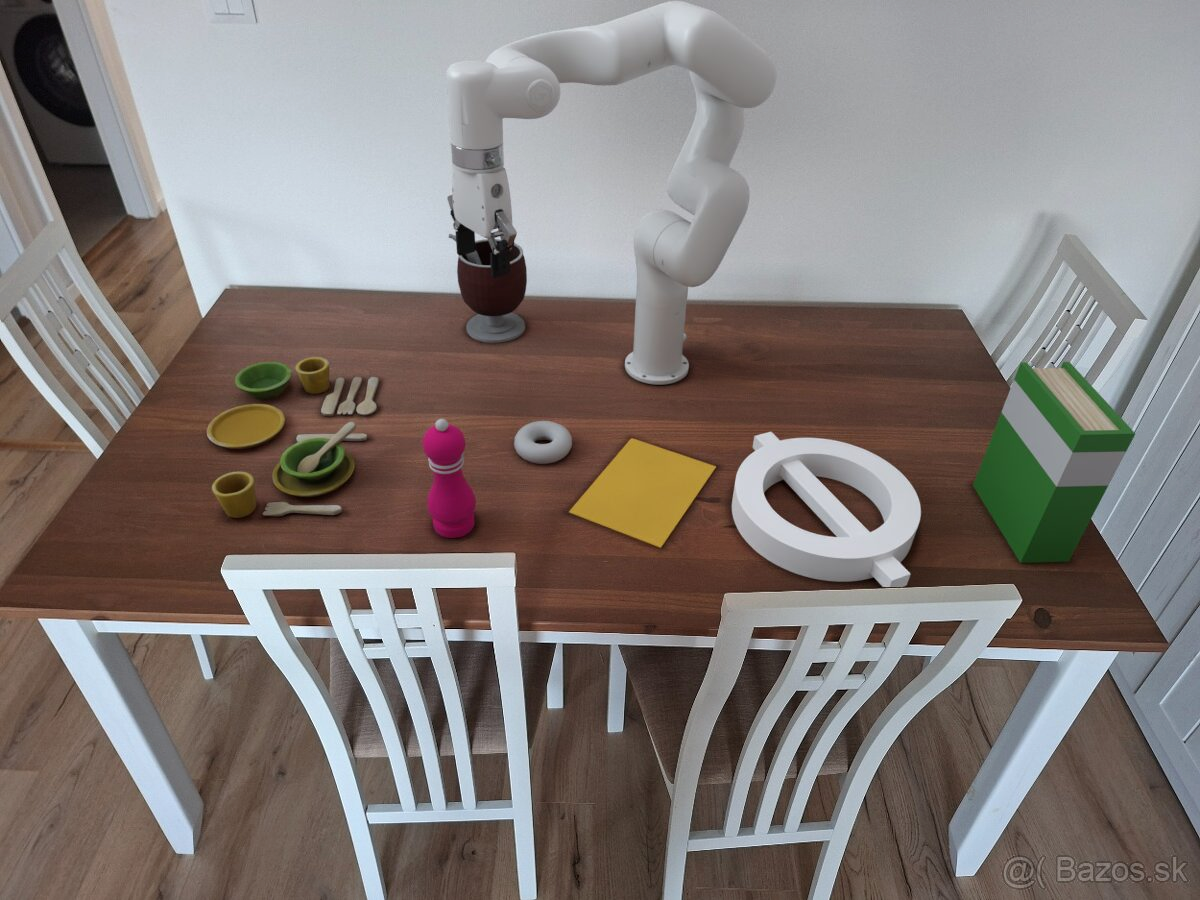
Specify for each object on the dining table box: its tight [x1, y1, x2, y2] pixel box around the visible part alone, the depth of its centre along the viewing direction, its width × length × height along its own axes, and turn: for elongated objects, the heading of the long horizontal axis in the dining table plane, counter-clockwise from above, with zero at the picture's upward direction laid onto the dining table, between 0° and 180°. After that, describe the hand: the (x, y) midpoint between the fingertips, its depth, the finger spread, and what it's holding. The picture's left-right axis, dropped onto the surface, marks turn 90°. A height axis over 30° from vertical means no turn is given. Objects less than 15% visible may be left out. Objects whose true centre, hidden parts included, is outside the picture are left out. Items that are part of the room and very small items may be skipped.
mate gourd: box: [448, 233, 528, 344], centre depth 169 cm, size 16×14×20 cm
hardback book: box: [972, 361, 1136, 564], centre depth 123 cm, size 18×7×24 cm, turn 3°
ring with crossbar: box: [731, 431, 922, 588], centre depth 129 cm, size 28×28×5 cm
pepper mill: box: [422, 418, 477, 539], centre depth 122 cm, size 7×7×20 cm
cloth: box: [568, 437, 717, 549], centre depth 135 cm, size 22×16×1 cm
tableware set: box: [206, 356, 380, 519], centre depth 141 cm, size 41×28×6 cm
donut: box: [513, 420, 573, 465], centre depth 142 cm, size 10×4×10 cm
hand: (483, 263), depth 131 cm, fingers open, 9 cm apart
